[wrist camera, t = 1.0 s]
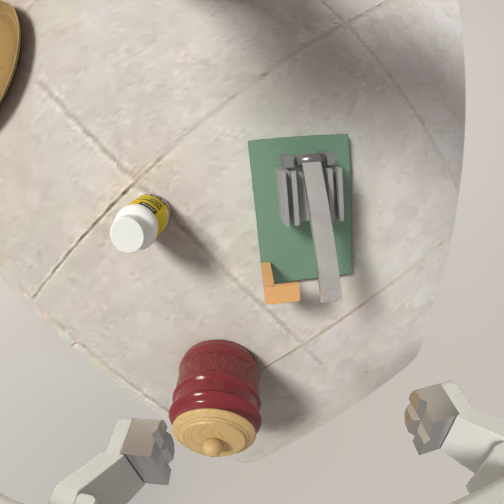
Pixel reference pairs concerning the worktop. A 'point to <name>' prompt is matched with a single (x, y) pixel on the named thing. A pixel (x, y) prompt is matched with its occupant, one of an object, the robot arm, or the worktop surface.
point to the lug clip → (278, 288)
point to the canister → (216, 399)
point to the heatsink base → (296, 237)
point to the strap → (320, 226)
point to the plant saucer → (8, 45)
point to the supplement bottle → (140, 223)
